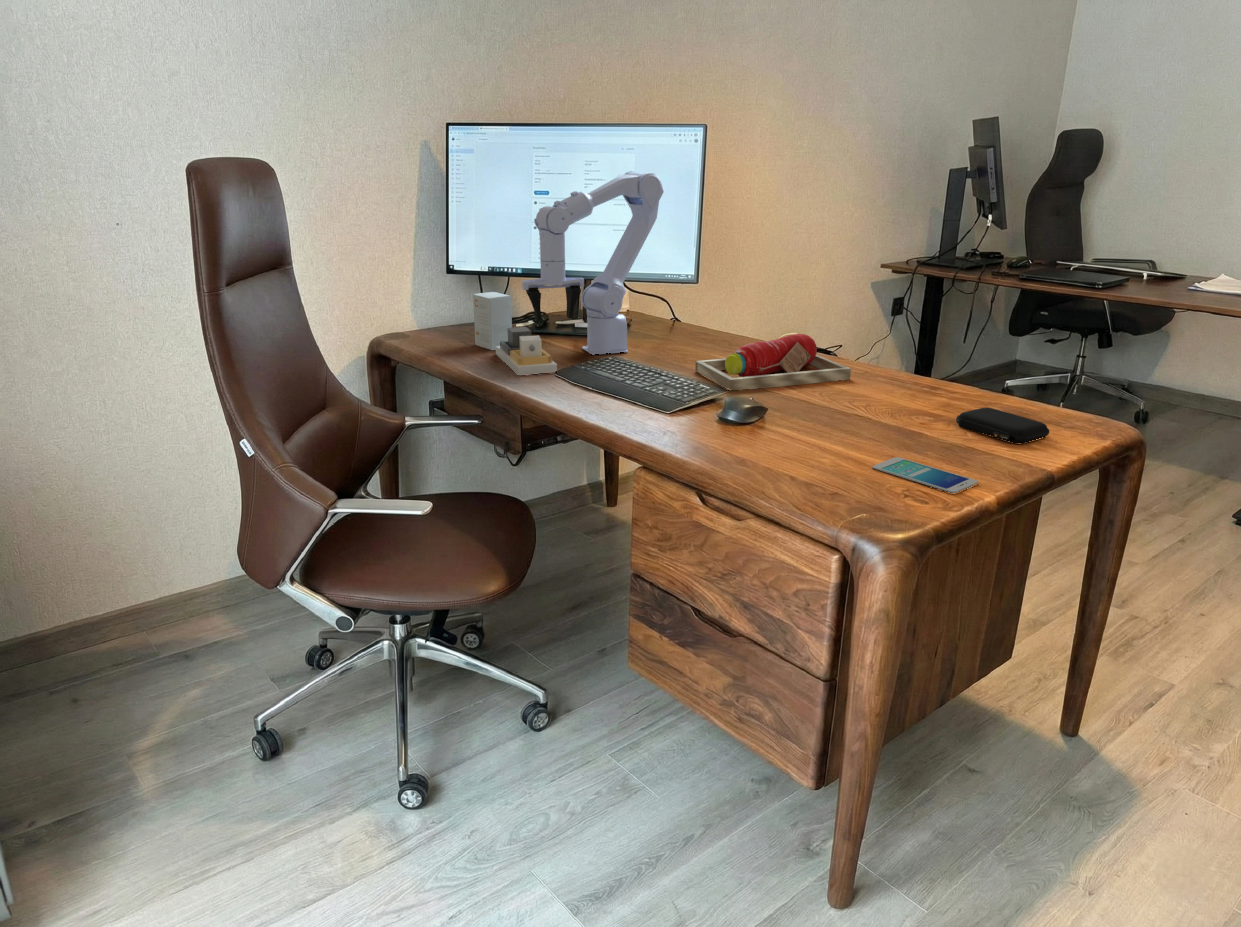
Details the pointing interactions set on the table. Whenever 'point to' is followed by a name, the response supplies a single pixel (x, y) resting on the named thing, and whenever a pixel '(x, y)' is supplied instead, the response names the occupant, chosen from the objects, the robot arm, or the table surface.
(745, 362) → the water bottle
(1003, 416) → the carrying case or bag
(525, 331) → the twin plug
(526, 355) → the plug
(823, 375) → the desk tray
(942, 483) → the smartphone
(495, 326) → the small box
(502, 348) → the white base platform
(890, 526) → the table surface
